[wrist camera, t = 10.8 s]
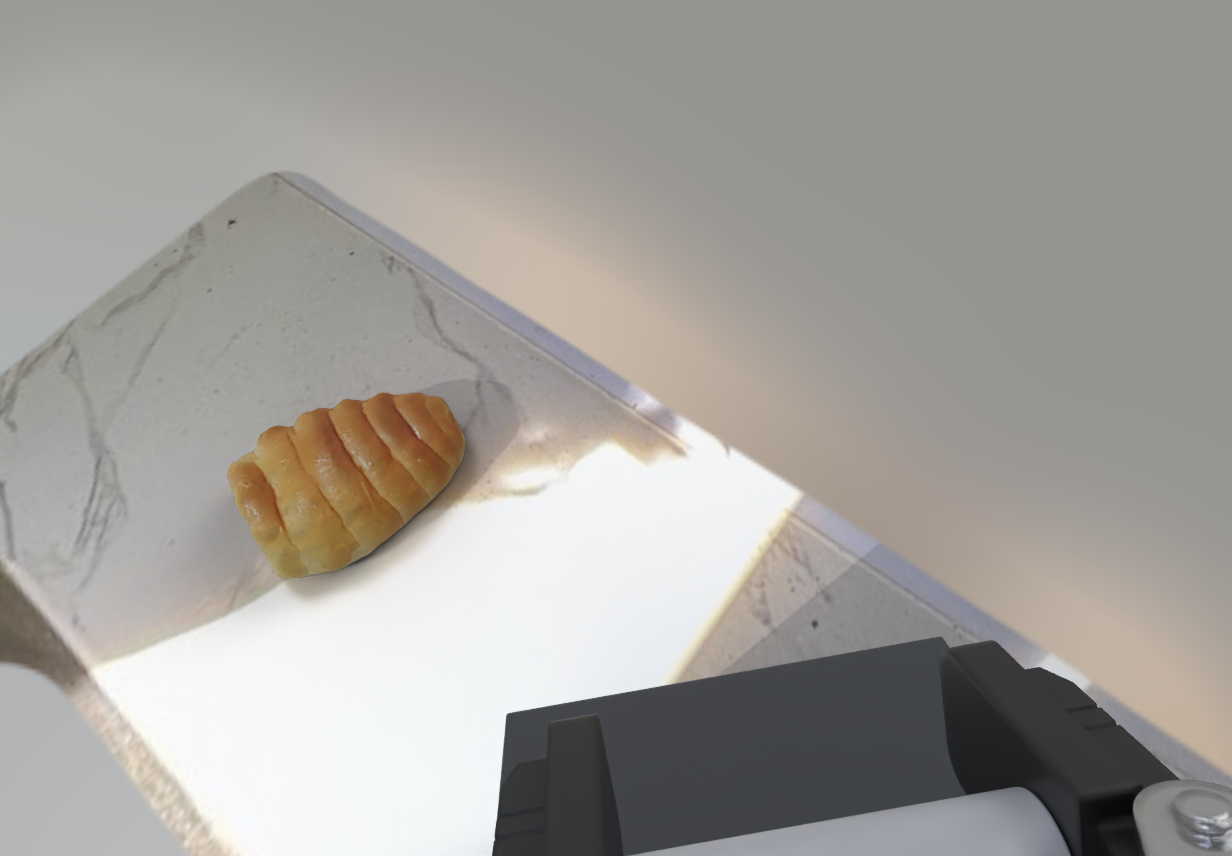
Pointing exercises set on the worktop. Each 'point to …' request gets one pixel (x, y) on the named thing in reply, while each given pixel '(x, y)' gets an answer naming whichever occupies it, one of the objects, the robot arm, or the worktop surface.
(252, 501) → the pastry
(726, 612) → the worktop surface
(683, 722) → the grey box lid
